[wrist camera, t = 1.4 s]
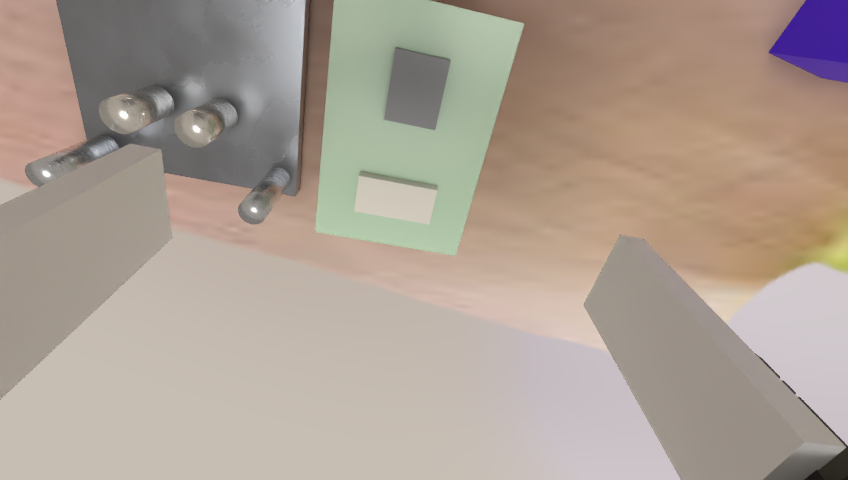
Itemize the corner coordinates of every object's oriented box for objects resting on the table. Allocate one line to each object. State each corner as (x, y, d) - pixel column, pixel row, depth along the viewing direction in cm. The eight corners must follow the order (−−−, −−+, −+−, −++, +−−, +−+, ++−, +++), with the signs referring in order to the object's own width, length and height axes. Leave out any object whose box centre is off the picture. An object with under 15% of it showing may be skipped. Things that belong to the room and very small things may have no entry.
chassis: (33, -190, 20) (-125, -270, 14) (316, -113, 21) (279, -157, 16) (103, 154, 29) (23, 191, 23) (299, 189, 30) (271, 233, 25)
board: (347, -19, 19) (331, -25, 15) (510, 21, 20) (528, 24, 16) (325, 208, 25) (311, 239, 21) (451, 230, 25) (456, 263, 22)
